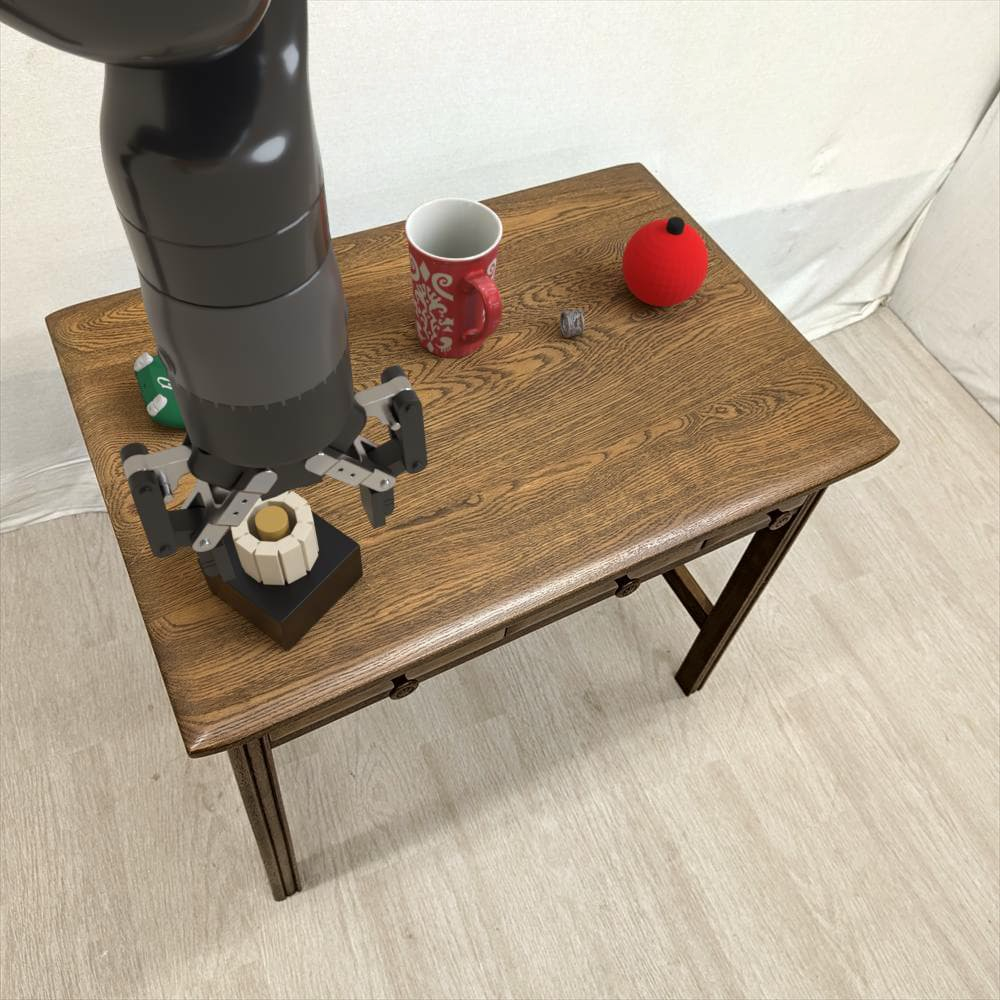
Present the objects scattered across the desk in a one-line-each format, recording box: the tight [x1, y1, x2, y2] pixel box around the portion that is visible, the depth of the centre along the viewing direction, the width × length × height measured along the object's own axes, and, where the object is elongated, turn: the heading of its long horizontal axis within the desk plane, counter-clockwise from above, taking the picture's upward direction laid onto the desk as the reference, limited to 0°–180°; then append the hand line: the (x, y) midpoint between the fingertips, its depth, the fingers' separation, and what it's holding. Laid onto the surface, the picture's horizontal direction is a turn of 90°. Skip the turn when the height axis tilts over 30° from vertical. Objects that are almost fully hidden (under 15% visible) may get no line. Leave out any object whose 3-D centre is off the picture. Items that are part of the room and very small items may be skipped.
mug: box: [404, 196, 504, 359], centre depth 87 cm, size 13×9×14 cm
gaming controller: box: [133, 351, 186, 429], centre depth 84 cm, size 9×4×6 cm
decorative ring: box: [559, 308, 585, 339], centre depth 93 cm, size 3×2×3 cm
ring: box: [230, 490, 319, 585], centre depth 70 cm, size 6×6×4 cm
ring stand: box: [196, 506, 364, 652], centre depth 71 cm, size 9×9×10 cm
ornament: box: [621, 216, 709, 308], centre depth 95 cm, size 9×9×10 cm
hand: (300, 540), depth 50 cm, fingers open, 8 cm apart
